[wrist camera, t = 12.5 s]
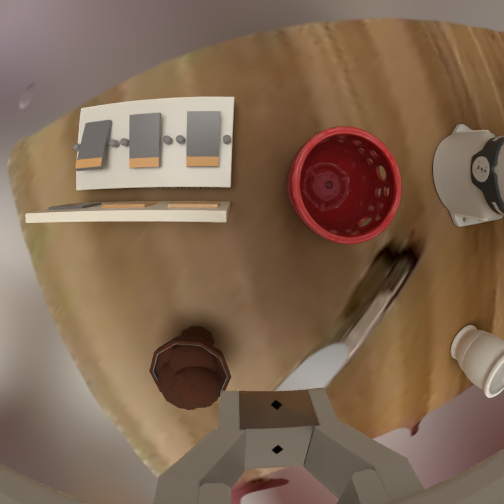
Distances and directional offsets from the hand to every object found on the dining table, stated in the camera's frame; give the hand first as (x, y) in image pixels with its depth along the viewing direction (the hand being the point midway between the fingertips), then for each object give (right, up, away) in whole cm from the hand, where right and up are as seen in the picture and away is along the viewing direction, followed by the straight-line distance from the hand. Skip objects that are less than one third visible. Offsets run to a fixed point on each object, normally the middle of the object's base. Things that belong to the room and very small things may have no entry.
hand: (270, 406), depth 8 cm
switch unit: (-14, +18, +31) cm, 39 cm away
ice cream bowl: (-9, -10, +38) cm, 40 cm away
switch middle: (-14, +19, +26) cm, 35 cm away
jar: (+45, -15, +42) cm, 64 cm away
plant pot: (+10, +14, +34) cm, 38 cm away
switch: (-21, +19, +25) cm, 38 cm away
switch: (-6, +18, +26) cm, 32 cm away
